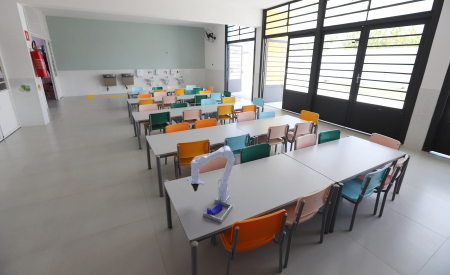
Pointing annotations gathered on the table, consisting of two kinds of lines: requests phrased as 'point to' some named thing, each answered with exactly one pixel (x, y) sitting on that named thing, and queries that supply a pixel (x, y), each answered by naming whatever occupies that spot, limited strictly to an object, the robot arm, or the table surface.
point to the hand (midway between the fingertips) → (195, 190)
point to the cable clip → (215, 209)
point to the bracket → (223, 215)
